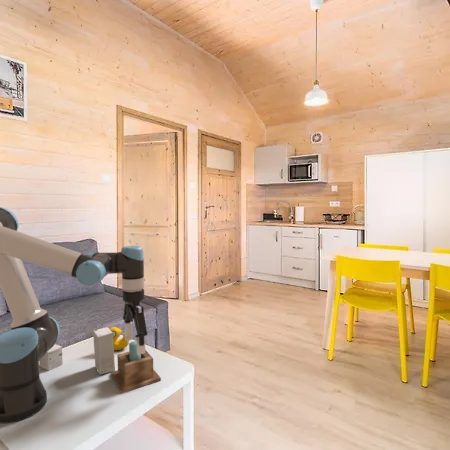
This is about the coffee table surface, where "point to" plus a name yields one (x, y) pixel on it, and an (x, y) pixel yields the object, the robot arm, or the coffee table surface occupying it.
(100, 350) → the skincare box
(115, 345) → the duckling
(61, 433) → the coffee table surface
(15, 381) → the robot arm
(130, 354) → the peg
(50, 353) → the skincare box
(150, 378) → the socket
